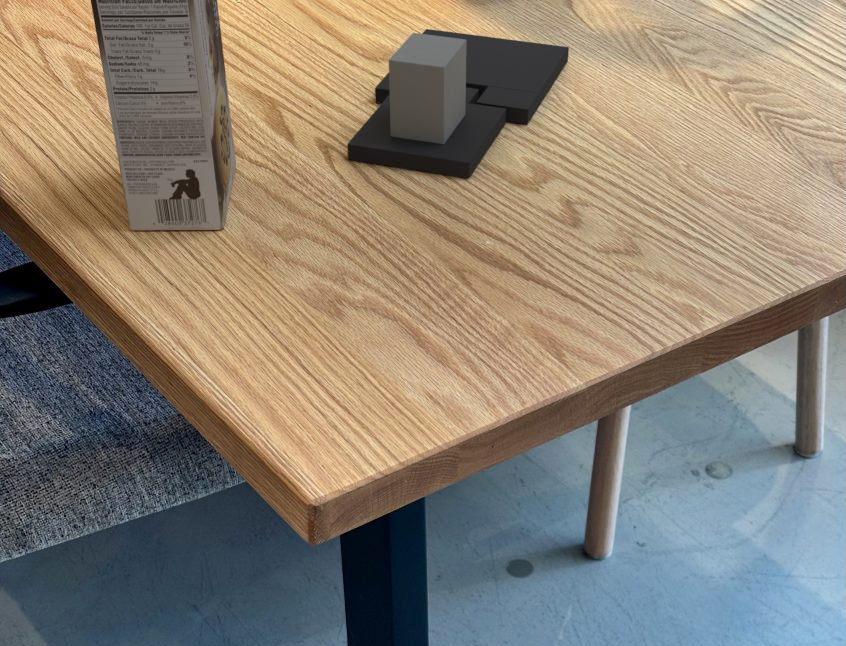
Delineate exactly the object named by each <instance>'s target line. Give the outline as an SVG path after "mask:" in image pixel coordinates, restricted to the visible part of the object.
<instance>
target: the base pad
mask: <svg viewBox="0 0 846 646" xmlns="http://www.w3.org/2000/svg"><path fill="white" fill-rule="evenodd" d="M421 34H427V35H435V36H442V37H450V38H458V39H465V40H466V87H467V88H474V89H479V99H478V101H477V102H476V104H477V105H484V106H491V107H498V108H505V109H506V123H513V124H521V125H528V124H529V123H530V122H531V120H532V119H533V116H534V115H535V113H536V112H537V111H538V109H539V107H540V106H541V104H542V103H543V101H544V100H545V97H547V95H548V93H549V92H550V91H551V88H552V87H553V85H554V84H555V82H556V81H557V79H558V78H559V76H560V75H561V73H562V71H563V70H564V68H565V66H566V65H567V63H568V62H569V50H570V48H569V47H570V46H563V45H555V44H547V43H541V42H540V43H539V42H533V41H525V40H524V41H523V40H516V39H508V38H500V37H492V36H486V35H477V34H470V33H461V32H454V31H447V30H446V31H445V30H438V29H430V28H426V29H425V30H424V31H423V32H422V33H421ZM389 94H390V88H389V72H387V74H386V75H385V76H384V77H382V80H380V82H379V83H378V84H377V85H376V86H375V88H374V96H375V97H374V98H375V103H377V104H382V103H383V101H384V100H385V99H386V98H387V97H388V96H389Z"/></svg>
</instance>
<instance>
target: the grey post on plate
mask: <svg viewBox="0 0 846 646" xmlns="http://www.w3.org/2000/svg"><path fill="white" fill-rule="evenodd" d="M388 73H389V88H390V94H389V96H388V97H387V98H386V99H385V100H384V101H383V103H380V105H379V106H378V107H377V108H376V109H375V111H374V112H373V113H372V115H370V116H369V118H368V119H367V120H366V121H365V123H364V124H363V125H362V126H361V128H359V130H358V131H357V132H356V133H355V135H354V136H353V137H352V138H351V139H350V140H349V141H348V143H347V144H346V145H347V146H346V147H347V160H348V161H355V162H361V163H366V164H367V163H368V164H373V165H381V166H385V167H386V166H387V167H388V166H389V167H393V168H399V169H406V170H412V171H419V172H424V173H432V174H438V175H444V176H451V177H458V178H463V179H470V178H471V177H472V175H473V173H474V172H475V171H476V169H477V168H478V166H479V164H480V163H481V162H482V160H483V158H484V157H485V155H486V154H487V152H488V151H489V150H490V149H491V146H492V145H493V143H494V142H495V140H496V139H497V137H498V136H499V134H500V133H501V132H502V130H503V128H504V127H505V126H506V124H507V122H506V109H505V108H498V107H491V106H484V105H477V104H476V102H477V101H478V99H479V89H474V88H467V87H466V40H465V39H458V38H450V37H442V36H435V35H427V34H422V33H419V32H418V33H417V32H412V33H411V34H410V35H409V36H408V37H407V39H406V40H405V41H404V42H403V44H401V46H399V48H397V50H396V51H395V52H394V54H392V56H391V57H389V59H388Z"/></svg>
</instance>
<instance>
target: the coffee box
mask: <svg viewBox="0 0 846 646" xmlns="http://www.w3.org/2000/svg"><path fill="white" fill-rule="evenodd" d="M90 4H91V10H92V16H93V21H94V28H95V33H96V39H97V45H98V50H99V55H100V61H101V68H102V72H103V73H102V74H103V78H104V85H105V90H106V91H105V92H106V97H107V101H108V102H107V103H108V108H109V113H110V119H111V120H110V121H111V127H112V132H113V136H114V142H115V148H116V154H117V160H118V166H119V173H120V178H121V184H122V190H123V195H124V201H125V206H126V211H127V217H128V223H129V228H130V230H131V231H220V230H223V229H224V228H225V225H226V224H225V223H226V219H227V213H228V210H229V204H230V199H231V193H232V188H233V183H234V179H235V172H236V167H237V157H236V151H235V141H234V134H233V126H232V117H231V108H230V97H229V91H228V89H229V88H228V84H227V83H228V82H227V73H226V65H225V56H224V47H223V38H222V30H221V22H220V13H219V5H218V0H90Z"/></svg>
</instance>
